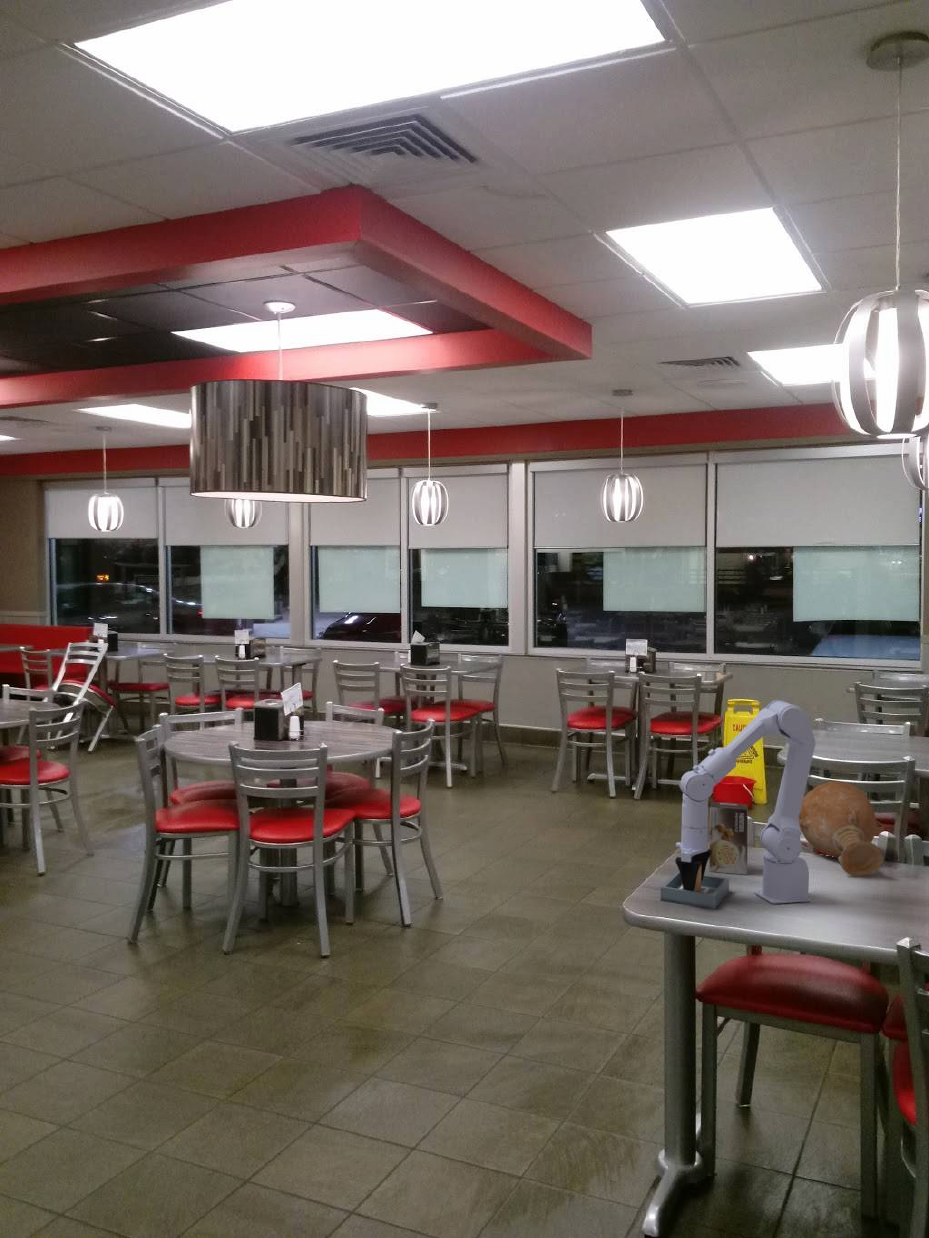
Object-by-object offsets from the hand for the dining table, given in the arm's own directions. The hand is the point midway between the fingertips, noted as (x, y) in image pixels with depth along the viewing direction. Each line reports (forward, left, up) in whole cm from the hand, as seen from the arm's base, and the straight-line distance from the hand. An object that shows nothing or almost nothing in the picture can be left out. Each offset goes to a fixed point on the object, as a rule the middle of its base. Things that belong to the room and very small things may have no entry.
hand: (693, 885), depth 230 cm
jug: (-50, -20, -3) cm, 54 cm away
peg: (0, 0, -2) cm, 2 cm away
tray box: (-1, -1, -3) cm, 3 cm away
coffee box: (-18, -18, -3) cm, 26 cm away
